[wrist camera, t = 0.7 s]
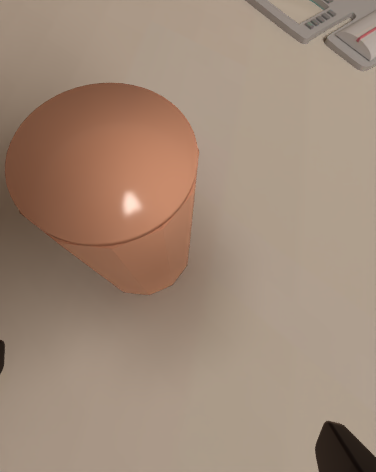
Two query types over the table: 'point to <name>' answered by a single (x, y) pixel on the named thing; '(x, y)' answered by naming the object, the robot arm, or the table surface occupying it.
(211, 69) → the table surface
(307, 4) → the table surface
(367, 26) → the office telephone
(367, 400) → the table surface
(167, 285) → the faceted domed cylinder
